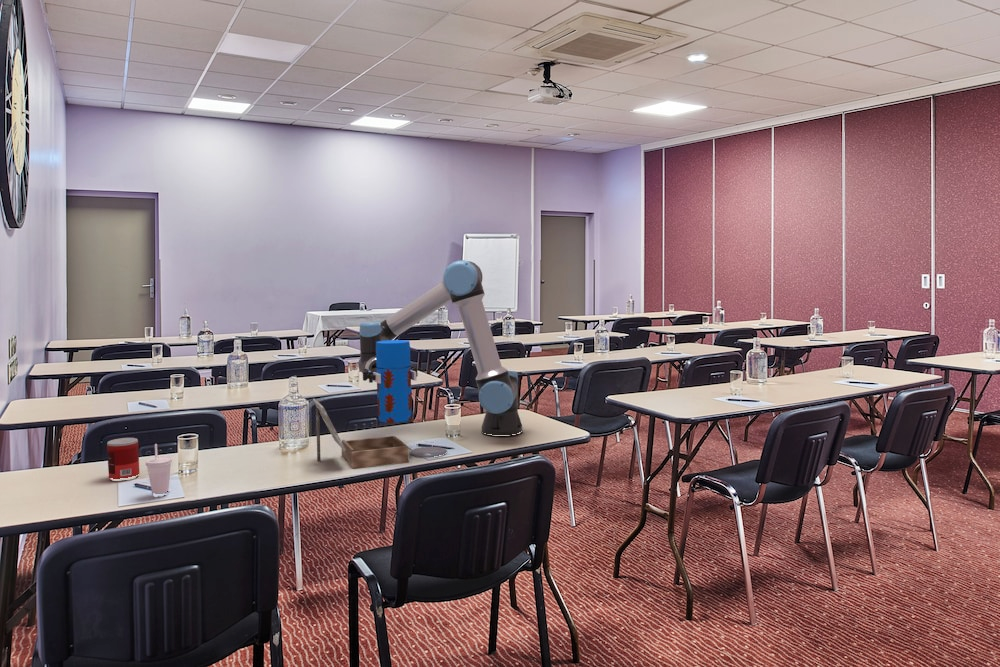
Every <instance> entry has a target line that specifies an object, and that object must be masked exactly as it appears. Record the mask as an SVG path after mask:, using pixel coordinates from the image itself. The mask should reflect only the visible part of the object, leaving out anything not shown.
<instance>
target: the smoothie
mask: <svg viewBox="0 0 1000 667" xmlns="http://www.w3.org/2000/svg"><path fill="white" fill-rule="evenodd" d="M172 463H173V458H172V457H169V456H159V457H158V444H157V443H155V444H154V457H152V458H148V459H147V460H146V461H145V466H146V467H147V472H148V478H149V484H150V488H151V489H150V490H151V494H152V493H155V494H163V493H165V492H167V491H168V492H169V488H170V478H171V467H172V466H171V465H172Z"/></svg>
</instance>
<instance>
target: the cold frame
mask: <svg viewBox="0 0 1000 667" xmlns="http://www.w3.org/2000/svg"><path fill="white" fill-rule="evenodd" d="M312 400H313V402H314V405H315V407H316V408H315V418H316V419H315V423H316V425H315V426H316V429H315V430H316V459H317V460H316V461H317V462H318V463H319V461H320V462H321V430H320V429H321V426H320V424H321V422H320V417H322V420H323V421H324V423H325V425H326V427H327V430H328V431H329V433H330V434H331V437H332V438H333V441H335V443H336V444H337V446H339V448H341V457H342V459H343V460H344V461H345V462H346V463H347V465H348V466H349V467H350V468H351V469H352V470H353V469H361V468H370V467H378V466H387V465H388V466H389V465H397V464H404V463H406V464H407V463H409V446H408V445H407V444H406V443H405V442H403V441H402V440H401V439H400V438H398V437H397V436H395V435H392V436H391V435H389V436H381V437H371V438H370V437H369V438H361V439H360V438H359V439H350V440H345V439H341V438H340V435H339V434H338V432H337V429H336V428H335V427H334V424H333V422H332V421H331V419H330V417H329V415H328V413H327V411H326V409H325V407H324V406H323V405H322V404H321V403H320V402H319V401H318V400H317V399H315V398H313V399H312Z"/></svg>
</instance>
